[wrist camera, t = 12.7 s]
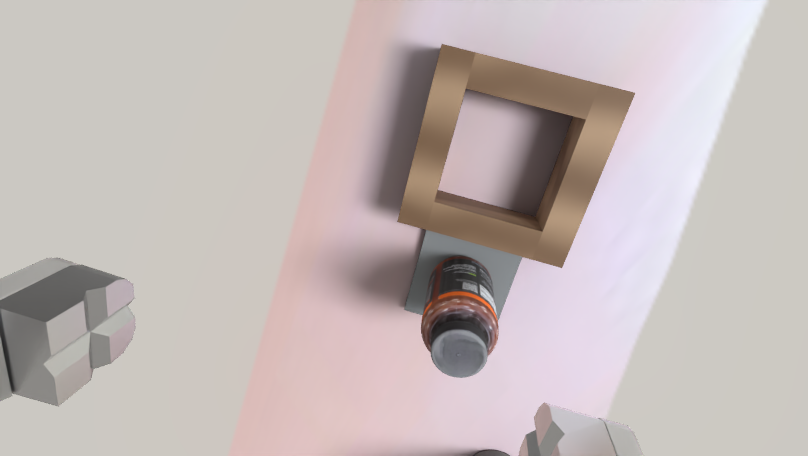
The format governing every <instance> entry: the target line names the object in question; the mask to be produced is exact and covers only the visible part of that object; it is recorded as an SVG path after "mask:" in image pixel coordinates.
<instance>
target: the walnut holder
mask: <svg viewBox="0 0 808 456" xmlns="http://www.w3.org/2000/svg"><path fill="white" fill-rule="evenodd" d="M466 89H470V90H474V91H478V92H481V93H485V94H489V95H493V96H497V97H501V98H505V99H509V100H512V101H516V102H520V103H524V104H528V105H532V106H536V107H539V108H543V109H547V110H551V111H555V112H559V113H563V114H567V115H570V116H573V118H572V121H571V123H570V126H569V129H568V131H567V134H566V137H565V139H564V142H563V145H562V147H561V150H560V153H559V155H558V158H557V161H556V163H555V166H554V169H553V171H552V174H551V177H550V179H549V182H548V185H547V187H546V190H545V193H544V195H543V198H542V201H541V203H540V206H539V209H538V211H537V214H536V217H534V216H530V215H526V214H523V213H519V212H515V211H512V210H508V209H505V208H501V207H497V206H494V205H490V204H486V203H483V202H479V201H475V200H472V199H468V198H464V197H461V196H457V195H454V194H450V193H446V192H443V191H439V190H438V187H439V183H440V180H441V176H442V173H443V169H444V165H445V162H446V158H447V155H448V151H449V147H450V144H451V140H452V137H453V133H454V130H455V126H456V122H457V119H458V115H459V112H460V108H461V104H462V101H463V97H464V94H465V90H466ZM634 95H635V93H633V92H629V91H625V90H621V89H617V88H613V87H609V86H606V85H602V84H598V83H594V82H590V81H586V80H582V79H578V78H574V77H570V76H566V75H562V74H558V73H554V72H550V71H546V70H542V69H538V68H534V67H530V66H526V65H523V64H519V63H515V62H511V61H507V60H503V59H499V58H495V57H491V56H487V55H483V54H479V53H475V52H471V51H467V50H463V49H459V48H455V47H451V46H447V45H443V44H442V45H441V49H440V53H439V57H438V61H437V65H436V69H435V73H434V77H433V81H432V85H431V89H430V93H429V97H428V101H427V105H426V109H425V113H424V117H423V121H422V125H421V129H420V133H419V137H418V141H417V145H416V149H415V153H414V157H413V161H412V165H411V169H410V173H409V177H408V181H407V185H406V189H405V193H404V197H403V201H402V205H401V209H400V213H399V217H398V221H397V222H400V223H404V224H407V225H411V226H415V227H418V228H422V229H425V230H429V231H432V232H436V233H439V234H443V235H447V236H450V237H454V238H457V239H461V240H464V241H468V242H472V243H475V244H479V245H482V246H486V247H489V248H493V249H496V250H500V251H504V252H507V253H511V254H514V255H518V256H521V257H525V258H529V259H532V260H536V261H539V262H543V263H546V264H550V265H553V266H557V267H561V268H562V267H563V264H564V262H565V259H566V257H567V255H568V252H569V250H570V248H571V245H572V243H573V240H574V238H575V236H576V233H577V231H578V228H579V226H580V224H581V221H582V219H583V217H584V214H585V212H586V209H587V207H588V205H589V202H590V200H591V197H592V195H593V193H594V190H595V188H596V186H597V183H598V181H599V178H600V176H601V174H602V171H603V169H604V166H605V164H606V162H607V159H608V157H609V155H610V152H611V150H612V147H613V145H614V143H615V140H616V138H617V135H618V133H619V131H620V128H621V126H622V124H623V121H624V119H625V116H626V114H627V112H628V109H629V107H630V104H631V102H632V100H633V97H634Z"/></svg>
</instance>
